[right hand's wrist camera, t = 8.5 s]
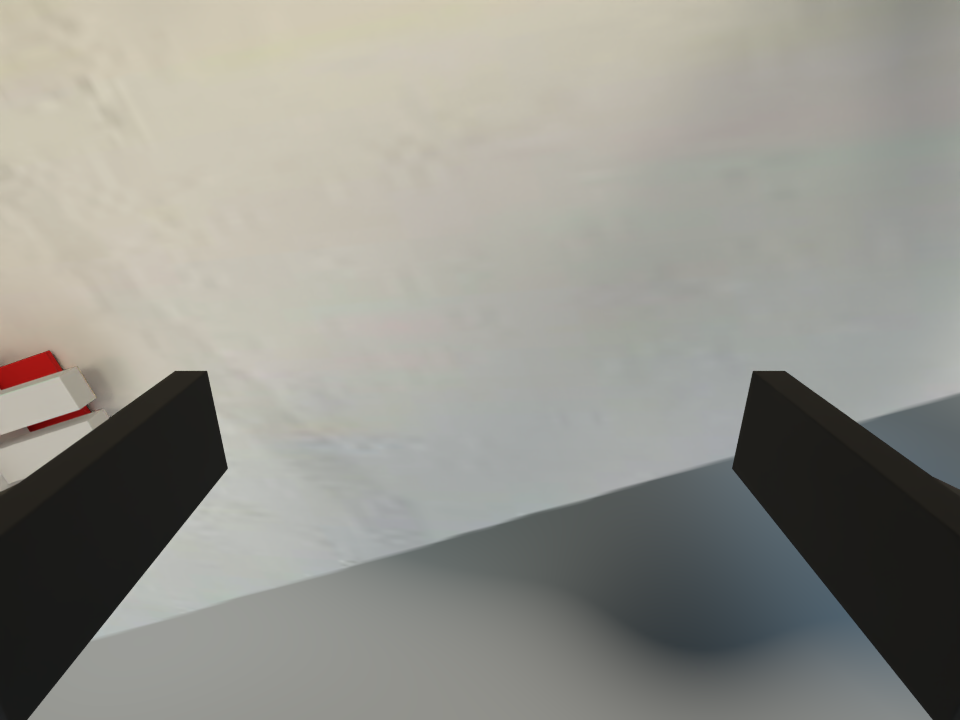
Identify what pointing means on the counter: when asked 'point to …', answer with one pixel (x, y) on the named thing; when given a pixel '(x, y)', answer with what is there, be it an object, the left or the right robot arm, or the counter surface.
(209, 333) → the counter surface
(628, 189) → the counter surface
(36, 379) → the toy
